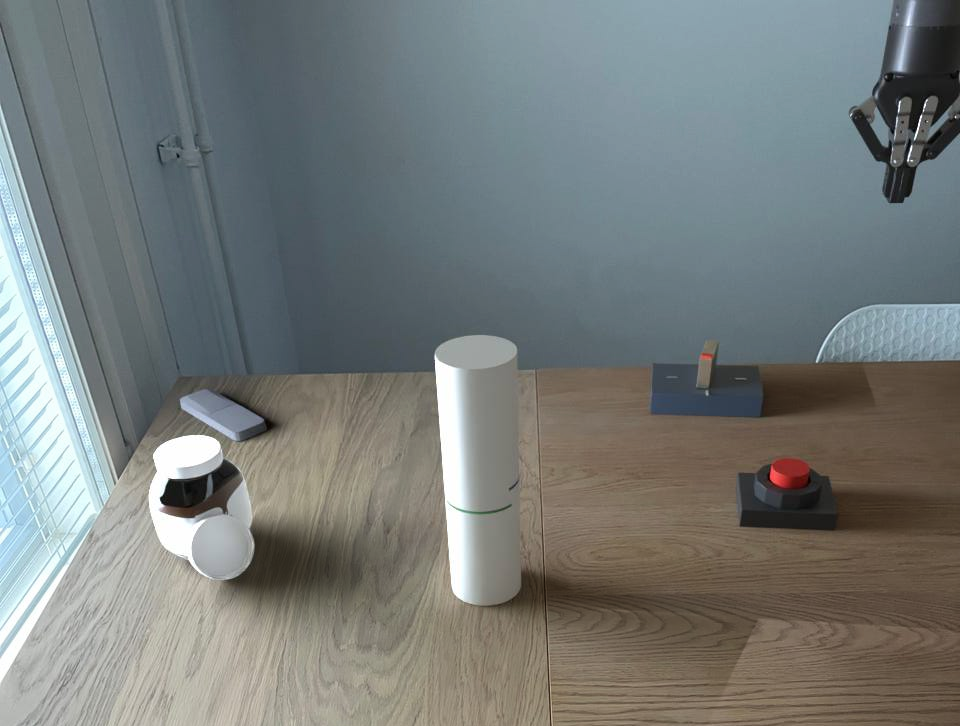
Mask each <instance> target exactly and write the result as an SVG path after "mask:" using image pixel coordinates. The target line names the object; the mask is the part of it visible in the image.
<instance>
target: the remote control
mask: <svg viewBox="0 0 960 726" xmlns="http://www.w3.org/2000/svg"><path fill="white" fill-rule="evenodd" d="M179 402H180V408H181V410H183V411H185V412H186V413H188V414H190V415H191V416H193V417H194V418H196V419H198V420H199V421H201V422H203V423H205V424H206V425H207V426H209V427H211V428H212V429H214V430H216V431H218V432H220V433H221V434H223V435H224V436H226V437H228V438H229V439H231V440H232V441H235V442H242V441H245V440H247V439H250V438H252V437H254V436H256V435H259V434H263V433H264V432H265V431H267V429H268V427H267V425H266V421H265V419H264V418H263V417H261V416H259V415H258V414H256V413H254V412H252V411H251V410H249V409H247V408H245V407H244V406H242V405H240V404H239V403H236V402H235V401H233V400H231V399H229V397H226V396H224V395H222V394H221V393H219V392H217V391H215V390H213V389H212V388H203V389H200V390H198V391H195V392H192V393H190V394H187V395H185V396H182V397H180V399H179Z"/></svg>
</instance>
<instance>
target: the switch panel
mask: <svg viewBox="0 0 960 726" xmlns="http://www.w3.org/2000/svg"><path fill="white" fill-rule="evenodd" d="M651 365H652V366H651V378H650V379H651V380H650V399H649V401H650V402H649V403H650V404H649V405H650V406H649V414H650V415H669V416H670V415H671V416H674V415H675V416H676V415H677V416H703V417H704V416H707V417H708V416H709V417H737V418H738V417H739V418H761V416H762V415H761V414H762V408H763V401H764V391H763V386H762V378H761V372H760V366H759V365H742V364H741V365H739V364H737V365H736V364H716V370H715V373H714V376H713V378H712V381H711V384H710V387H709V389H706V388H697V379H698V369H699V363H698V364H694V363H659V362H657V363H656V362H655V363H652V364H651Z"/></svg>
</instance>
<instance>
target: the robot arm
mask: <svg viewBox="0 0 960 726" xmlns="http://www.w3.org/2000/svg"><path fill="white" fill-rule="evenodd" d="M875 109H877V111H878V113H879V114H880V116H881V118H882V120H883V122H884V124H885V125H886V126H887V128H888V131H887V138H888V139H887V141H888V142H887V146H884V145H883V144H882V143H881V141H880V139H879V137H878V135H877V134H876V132H875V130H874V129H873V127H872V125H871V124H873V123H874V121H875V119H876V114H875ZM946 112H947V119H946V120H945V121H944V122H943V123H942V124H941V125H940V126H939V127H938V128H937V129H936V131H934V133H933V134H932V135H930V137H928V136H929V133H930V131H931V130H930V129H931V128H932V127H934V125H935V124H937V122H938V121H939V120H940V119H941V117H943V116H944V114H945V113H946ZM848 116H849V119H850V120H851V122H852V124H853V125H854V127H855V128H856V130H857V132H858V134H859V135H860V137H861V139H862V141H863V142H864V144H865V145H866V148H867V149H868V151H869V152H870V154H871V155H872V157H873V159H874V160H875V162H878V163H880V162H882V163H885V164H886V165H885V166H886V167H885V172H884V177H883V180H882V181H883V182H882V187H881V192H882V195H883V196H884V198H885V199H886V201H887V202H888V204H903V203H904V202H905V199H906V198H909V197H910V196H911V195H912V193H913V188H914V182H915V179H916V174H917V173H916V172H917V169H918V167H919V166H920V164H922V163H923V162H926V161H932V160H935V159H937V158H938V157H939V156H940V154H942V153H943V152H944V151H945V149H947V147H948V146H949V145H950V144H951V143H952V142H953V141H954V140H955V139H956V138H957V137H958V136H959V135H960V0H892V6H891V11H890V18H889V23H888V29H887V36H886V41H885V45H884V51H883V57H882V63H881V68H880V75H879V77H878V80H877V81H876V83H875V84H874V86H873V87H872V91H871V96H869V97H868V98H867V99H865V100H864V101H863V102H862V103H860V104H859V105H854V106H852V107H850V109H849V110H848Z"/></svg>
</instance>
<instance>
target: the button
mask: <svg viewBox="0 0 960 726" xmlns="http://www.w3.org/2000/svg"><path fill="white" fill-rule="evenodd" d="M772 463H773V464H772ZM772 463H771V464H772V467H771V473H770V482H771V483H772V484H773V485H774V486H777V487H781V488H784V489H799V488H803V487H805V486H806V485H807V483H808V478H809V473H810V468H811V466H810V465H809V464H808V463H807V462H805V461H803V460H801V459H798V458H794V457H793V458H792V457H783V458H779V459H775V460H774V461H773V462H772Z"/></svg>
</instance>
